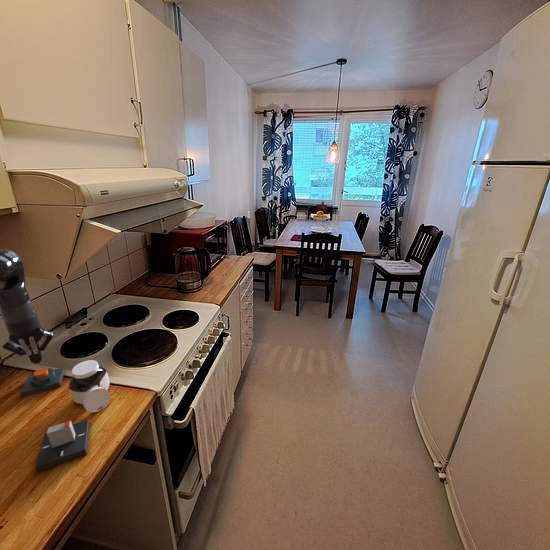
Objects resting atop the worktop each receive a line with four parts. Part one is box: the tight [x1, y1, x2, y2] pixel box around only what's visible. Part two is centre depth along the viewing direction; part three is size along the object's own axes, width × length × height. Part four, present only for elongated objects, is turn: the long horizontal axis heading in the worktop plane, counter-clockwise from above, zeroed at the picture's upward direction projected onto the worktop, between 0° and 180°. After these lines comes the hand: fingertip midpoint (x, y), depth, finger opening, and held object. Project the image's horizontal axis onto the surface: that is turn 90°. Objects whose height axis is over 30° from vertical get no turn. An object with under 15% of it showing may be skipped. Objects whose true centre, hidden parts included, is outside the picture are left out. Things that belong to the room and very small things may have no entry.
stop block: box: [20, 367, 65, 397], centre depth 95 cm, size 10×8×4 cm
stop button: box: [33, 367, 49, 380], centre depth 94 cm, size 4×4×2 cm
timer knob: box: [46, 420, 75, 448], centre depth 73 cm, size 5×2×5 cm, turn 117°
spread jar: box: [68, 359, 111, 413], centre depth 88 cm, size 12×11×12 cm
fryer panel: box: [35, 419, 91, 473], centre depth 75 cm, size 10×10×3 cm
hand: (37, 362), depth 92 cm, fingers closed
